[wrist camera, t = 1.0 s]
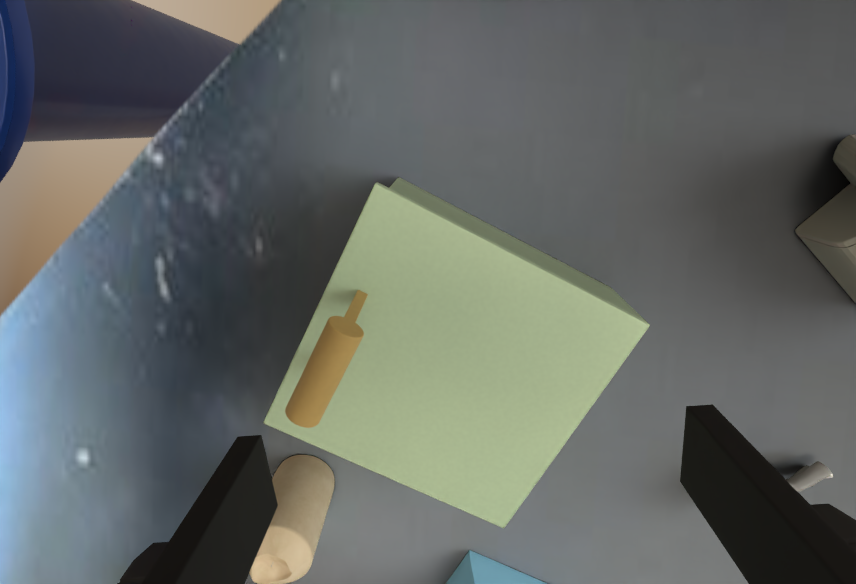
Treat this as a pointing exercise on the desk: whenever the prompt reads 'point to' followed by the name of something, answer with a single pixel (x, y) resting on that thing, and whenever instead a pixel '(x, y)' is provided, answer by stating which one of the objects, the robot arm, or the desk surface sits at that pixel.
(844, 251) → the digital clock
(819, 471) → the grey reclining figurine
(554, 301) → the lid
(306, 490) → the candle
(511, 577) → the planter
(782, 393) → the desk surface
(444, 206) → the chest
